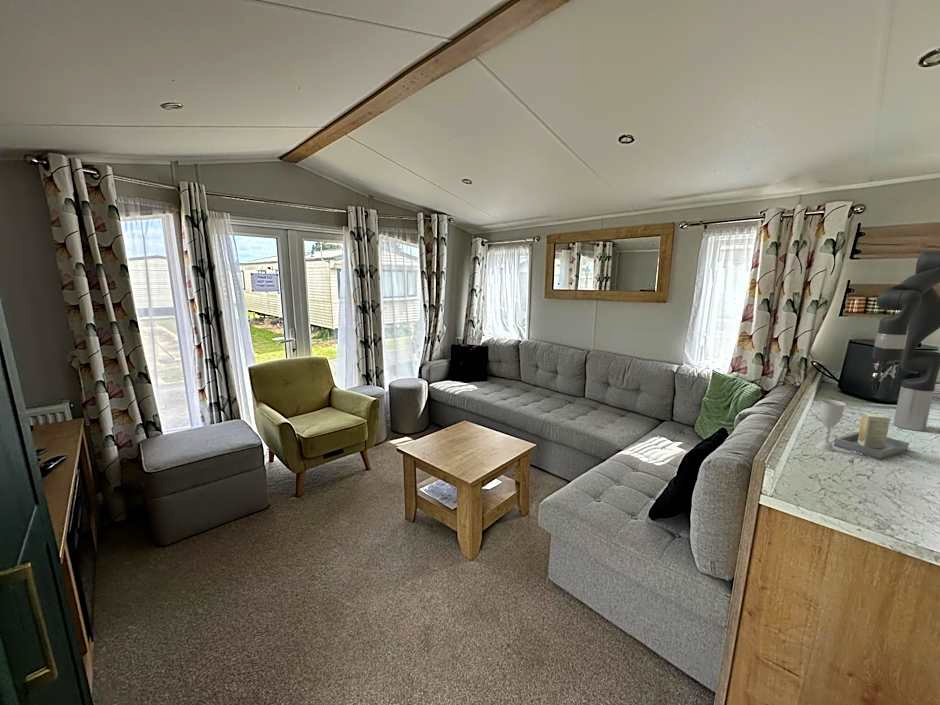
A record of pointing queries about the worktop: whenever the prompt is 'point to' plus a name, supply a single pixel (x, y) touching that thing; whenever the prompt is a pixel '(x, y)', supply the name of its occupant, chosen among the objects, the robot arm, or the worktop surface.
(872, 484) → the worktop surface
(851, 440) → the tray
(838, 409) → the chalice
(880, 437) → the skincare box
